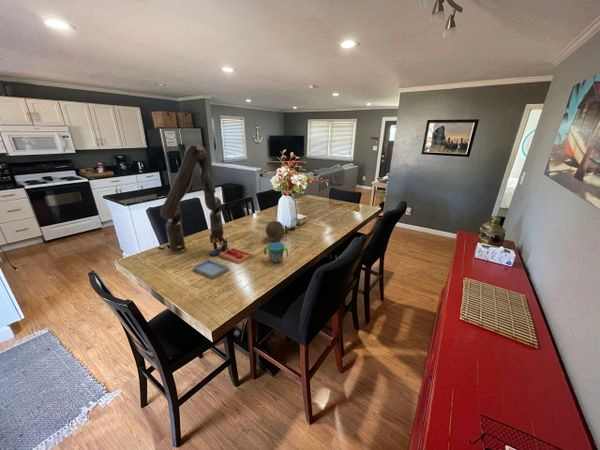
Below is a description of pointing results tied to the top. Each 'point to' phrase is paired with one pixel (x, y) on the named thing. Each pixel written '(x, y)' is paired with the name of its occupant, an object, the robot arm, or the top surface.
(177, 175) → the robot arm
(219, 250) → the blue spoon
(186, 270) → the top surface
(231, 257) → the red tray
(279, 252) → the snack cup
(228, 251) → the red spoon
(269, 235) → the brown ball
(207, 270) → the blue tray
